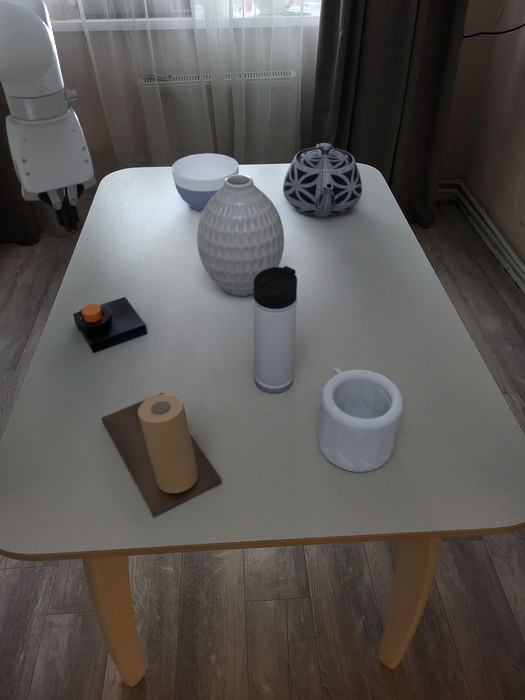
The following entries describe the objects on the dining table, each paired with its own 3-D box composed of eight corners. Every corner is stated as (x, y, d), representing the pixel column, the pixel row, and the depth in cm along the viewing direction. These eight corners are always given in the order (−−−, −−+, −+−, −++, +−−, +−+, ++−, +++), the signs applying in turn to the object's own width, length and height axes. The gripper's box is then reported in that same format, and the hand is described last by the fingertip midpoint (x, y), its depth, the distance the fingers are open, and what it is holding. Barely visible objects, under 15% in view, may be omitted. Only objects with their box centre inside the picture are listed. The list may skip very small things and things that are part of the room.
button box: (89, 354, 95) (84, 336, 93) (71, 324, 102) (66, 306, 99) (147, 334, 100) (144, 316, 97) (126, 305, 106) (123, 288, 104)
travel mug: (302, 378, 91) (308, 275, 78) (275, 399, 87) (277, 295, 74) (273, 361, 94) (275, 259, 81) (246, 381, 90) (243, 277, 77)
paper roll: (150, 474, 75) (166, 500, 71) (131, 404, 69) (147, 428, 65) (187, 456, 78) (205, 481, 73) (172, 387, 71) (190, 409, 67)
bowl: (187, 187, 146) (183, 151, 139) (246, 192, 143) (245, 155, 137) (167, 215, 134) (162, 177, 128) (231, 221, 131) (229, 182, 125)
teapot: (283, 238, 125) (285, 174, 116) (281, 180, 149) (283, 123, 139) (368, 238, 125) (377, 174, 115) (353, 180, 148) (359, 123, 139)
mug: (407, 460, 78) (420, 412, 72) (338, 483, 75) (344, 435, 69) (361, 396, 88) (368, 348, 81) (298, 414, 85) (301, 366, 78)
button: (87, 325, 96) (84, 317, 95) (81, 315, 98) (79, 307, 97) (105, 319, 97) (103, 311, 96) (98, 309, 99) (96, 302, 98)
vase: (287, 267, 116) (290, 163, 101) (277, 314, 104) (279, 204, 89) (211, 261, 118) (203, 159, 103) (192, 306, 106) (181, 197, 91)
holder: (153, 518, 71) (152, 513, 71) (102, 422, 84) (101, 417, 83) (221, 483, 75) (221, 479, 75) (163, 397, 88) (162, 392, 87)
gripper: (84, 88, 79) (108, 206, 92) (-26, 106, 74) (14, 230, 86) (102, 102, 75) (124, 225, 87) (-15, 122, 69) (27, 251, 81)
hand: (70, 227), depth 86 cm, fingers closed
